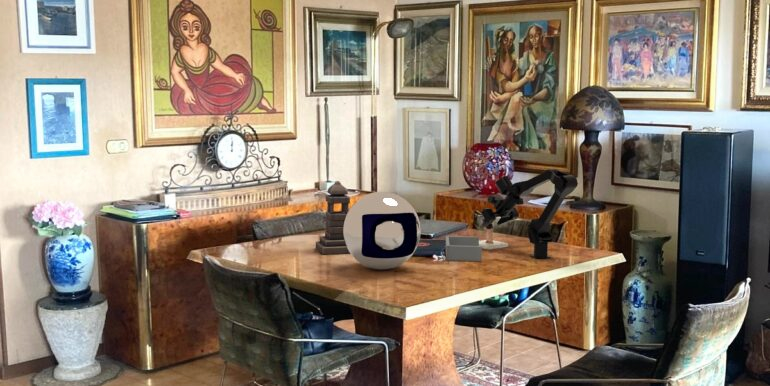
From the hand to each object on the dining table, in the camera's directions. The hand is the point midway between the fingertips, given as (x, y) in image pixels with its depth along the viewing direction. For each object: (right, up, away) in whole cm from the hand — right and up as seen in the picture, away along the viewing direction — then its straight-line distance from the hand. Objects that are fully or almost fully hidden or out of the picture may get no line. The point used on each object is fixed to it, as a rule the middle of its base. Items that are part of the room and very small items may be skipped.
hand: (490, 225), depth 394 cm
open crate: (-13, -12, -20) cm, 27 cm away
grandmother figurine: (0, -8, +1) cm, 8 cm away
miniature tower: (-67, -11, -14) cm, 69 cm away
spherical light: (-48, -15, -49) cm, 70 cm away
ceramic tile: (-1, -9, +2) cm, 9 cm away
